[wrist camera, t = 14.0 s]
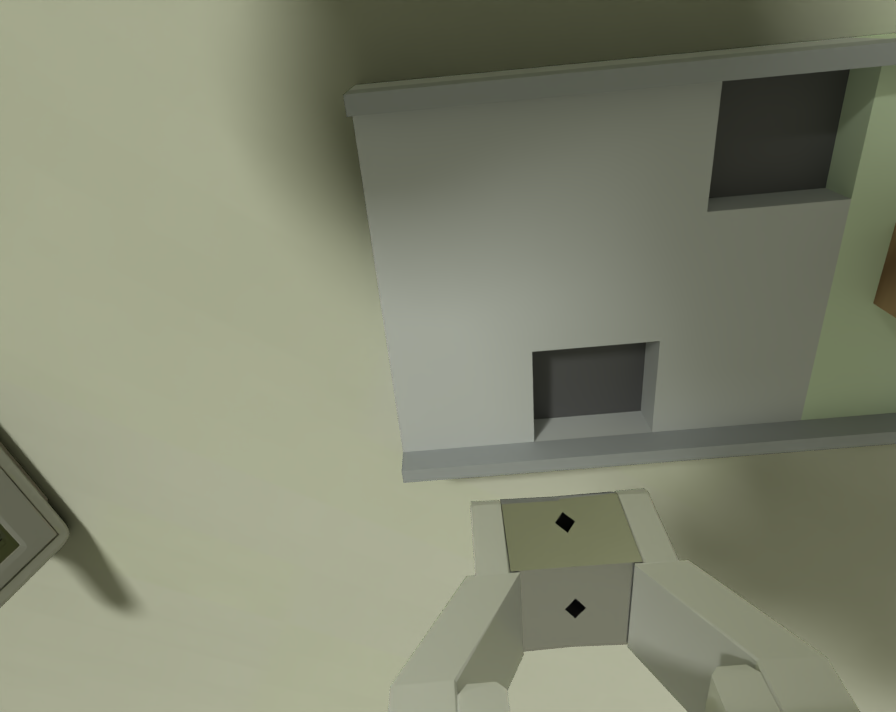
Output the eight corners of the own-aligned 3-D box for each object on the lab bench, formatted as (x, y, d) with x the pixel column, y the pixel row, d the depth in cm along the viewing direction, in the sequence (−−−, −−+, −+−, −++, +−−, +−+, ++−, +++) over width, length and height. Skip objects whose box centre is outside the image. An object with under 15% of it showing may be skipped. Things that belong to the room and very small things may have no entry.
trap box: (355, 84, 34) (341, 95, 29) (1022, 20, 33) (1122, 21, 28) (406, 437, 45) (403, 487, 41) (902, 397, 45) (959, 443, 40)
